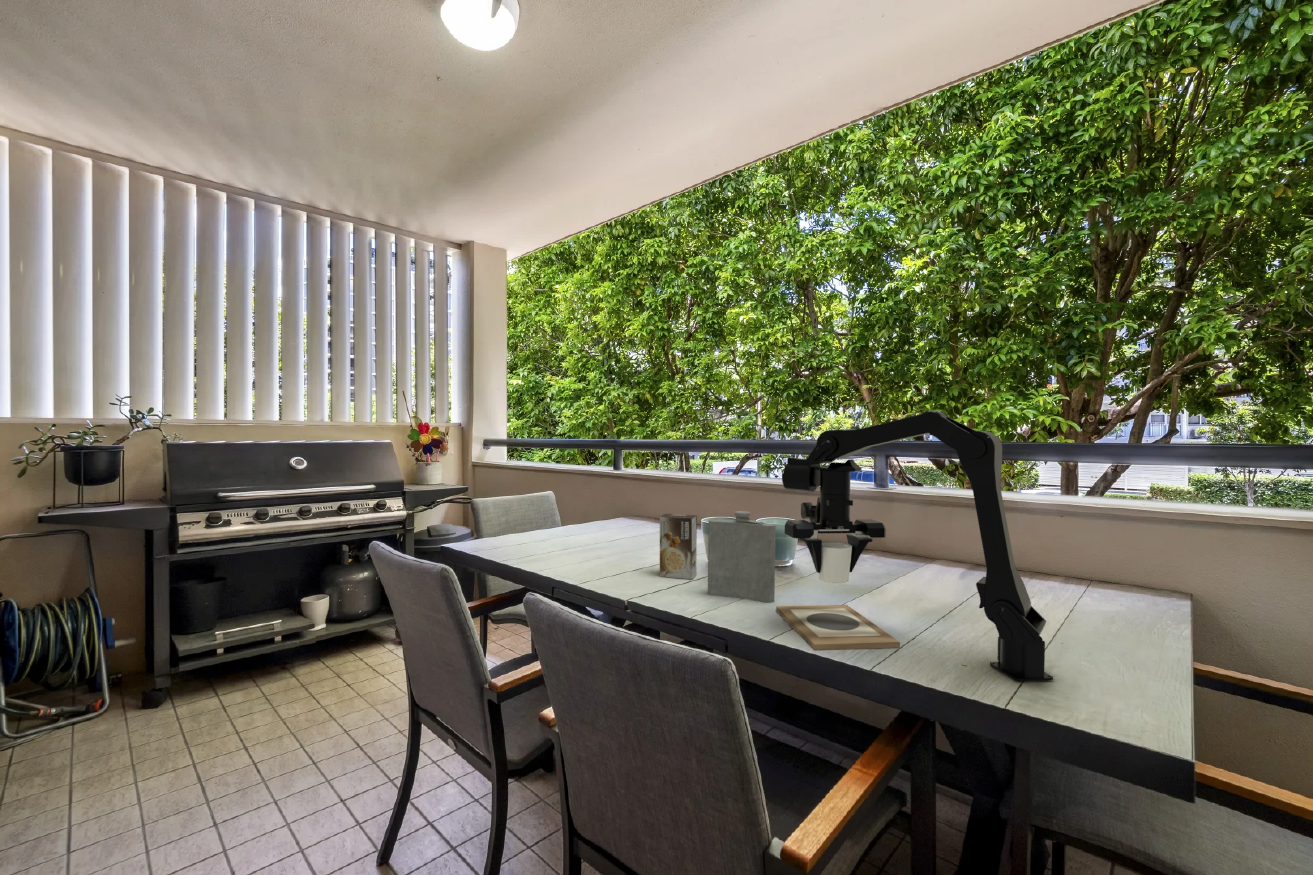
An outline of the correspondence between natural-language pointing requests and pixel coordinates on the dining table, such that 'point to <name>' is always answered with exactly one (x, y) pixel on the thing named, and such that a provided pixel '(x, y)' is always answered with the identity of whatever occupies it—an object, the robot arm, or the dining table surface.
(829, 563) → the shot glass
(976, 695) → the dining table surface
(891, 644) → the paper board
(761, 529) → the hip flask
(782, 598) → the dining table surface
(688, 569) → the coffee box
